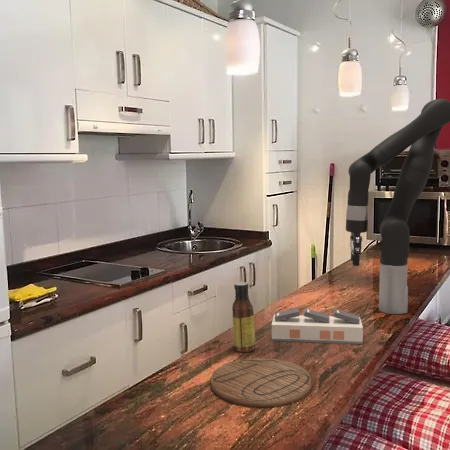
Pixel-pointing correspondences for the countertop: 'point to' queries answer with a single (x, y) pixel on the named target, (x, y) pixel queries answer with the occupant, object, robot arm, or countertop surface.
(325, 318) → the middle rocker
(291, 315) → the far rocker
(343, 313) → the plate
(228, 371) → the trivet
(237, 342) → the sauce bottle
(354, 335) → the switch console
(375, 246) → the countertop surface
